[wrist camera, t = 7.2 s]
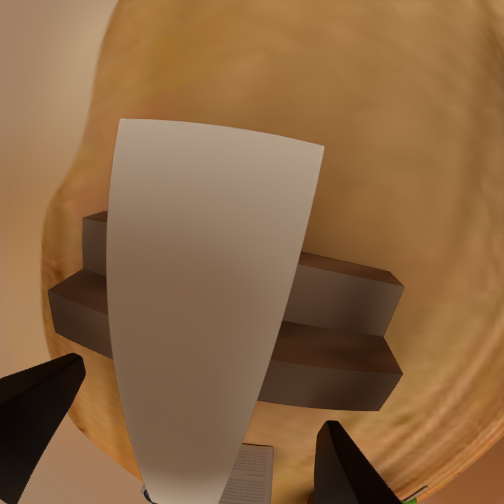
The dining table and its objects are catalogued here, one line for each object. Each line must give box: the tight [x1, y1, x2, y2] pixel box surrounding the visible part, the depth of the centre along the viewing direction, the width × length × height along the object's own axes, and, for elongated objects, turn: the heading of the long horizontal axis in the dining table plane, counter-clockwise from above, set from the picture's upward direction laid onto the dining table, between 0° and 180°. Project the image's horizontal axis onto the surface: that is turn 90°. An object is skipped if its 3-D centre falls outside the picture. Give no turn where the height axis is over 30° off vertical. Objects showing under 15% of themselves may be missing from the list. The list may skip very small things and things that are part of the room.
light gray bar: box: [106, 119, 325, 504], centre depth 8 cm, size 3×16×4 cm, turn 169°
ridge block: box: [48, 211, 404, 411], centre depth 12 cm, size 16×8×5 cm, turn 79°
